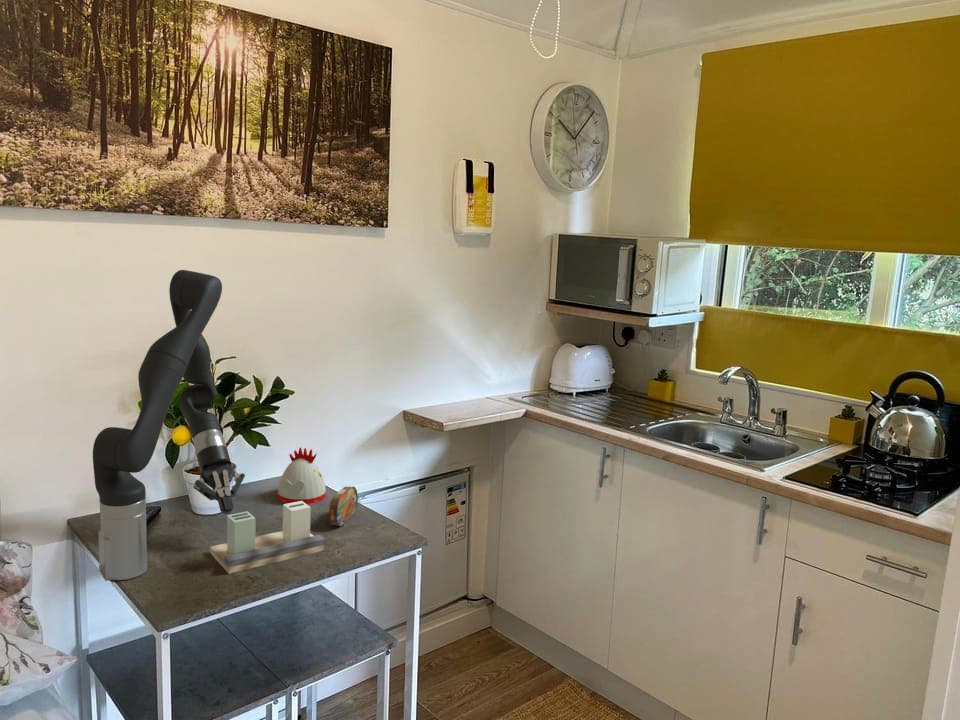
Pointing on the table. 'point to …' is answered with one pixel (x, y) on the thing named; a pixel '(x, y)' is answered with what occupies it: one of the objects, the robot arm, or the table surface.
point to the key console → (267, 551)
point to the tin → (343, 505)
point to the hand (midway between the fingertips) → (228, 512)
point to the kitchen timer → (302, 480)
